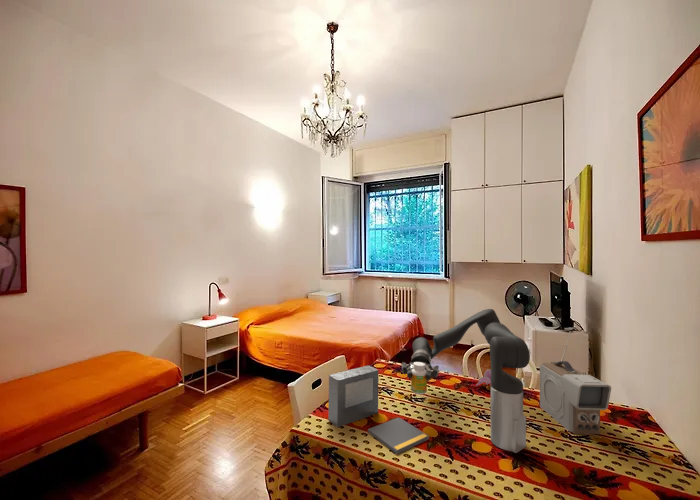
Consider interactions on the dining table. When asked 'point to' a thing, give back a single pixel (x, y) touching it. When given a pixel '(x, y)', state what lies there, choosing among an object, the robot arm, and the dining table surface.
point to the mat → (398, 435)
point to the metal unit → (353, 395)
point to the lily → (485, 378)
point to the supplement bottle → (419, 378)
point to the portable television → (572, 396)
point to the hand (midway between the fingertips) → (418, 377)
